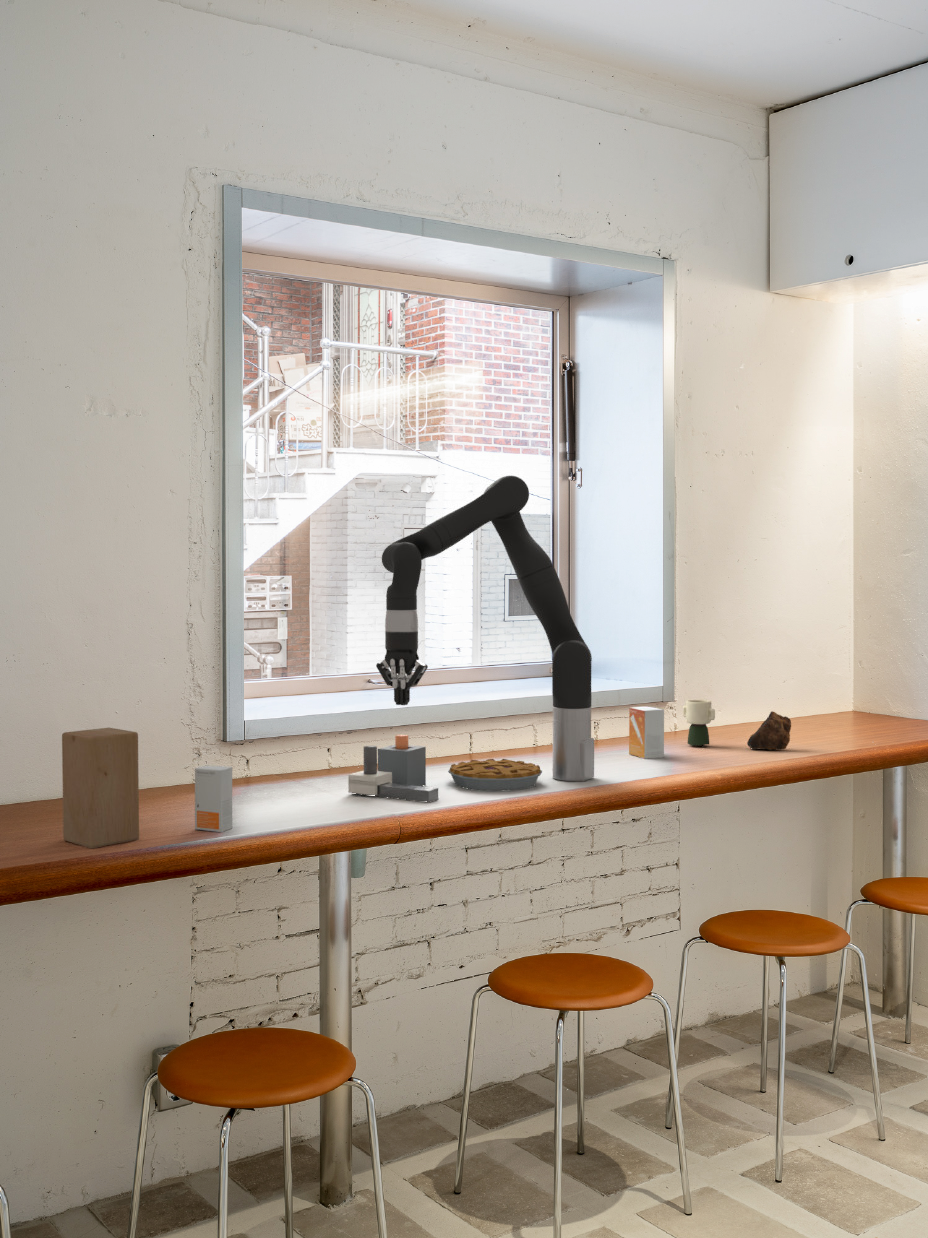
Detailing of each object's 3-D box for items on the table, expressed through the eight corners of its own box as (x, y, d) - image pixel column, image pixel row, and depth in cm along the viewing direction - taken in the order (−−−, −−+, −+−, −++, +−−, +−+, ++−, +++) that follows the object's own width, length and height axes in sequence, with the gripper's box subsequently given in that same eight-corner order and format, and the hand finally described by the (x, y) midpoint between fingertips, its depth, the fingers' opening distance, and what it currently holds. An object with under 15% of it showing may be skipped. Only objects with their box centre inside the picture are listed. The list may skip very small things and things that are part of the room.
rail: (438, 799, 246) (438, 788, 246) (428, 802, 243) (428, 791, 242) (362, 791, 256) (361, 780, 256) (351, 794, 252) (351, 782, 252)
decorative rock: (789, 748, 319) (790, 710, 318) (793, 752, 313) (793, 713, 312) (746, 748, 320) (746, 710, 320) (748, 751, 314) (749, 712, 314)
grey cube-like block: (425, 785, 263) (425, 746, 262) (407, 791, 256) (407, 751, 255) (396, 782, 267) (396, 744, 266) (377, 787, 260) (377, 748, 259)
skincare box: (194, 830, 216) (193, 768, 216) (206, 825, 220) (206, 764, 220) (221, 833, 214) (220, 770, 214) (233, 828, 218) (233, 766, 217)
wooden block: (90, 849, 201) (89, 737, 200) (62, 840, 208) (60, 732, 207) (140, 839, 208) (139, 731, 208) (111, 831, 215) (109, 727, 214)
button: (410, 754, 262) (410, 735, 261) (403, 756, 259) (403, 737, 259) (399, 753, 263) (399, 734, 263) (392, 755, 260) (392, 736, 260)
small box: (628, 754, 308) (628, 707, 308) (648, 753, 311) (648, 706, 310) (644, 759, 301) (644, 710, 300) (664, 757, 303) (664, 709, 303)
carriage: (392, 790, 254) (391, 745, 253) (374, 795, 247) (374, 750, 247) (366, 787, 257) (366, 743, 257) (348, 792, 251) (348, 747, 251)
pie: (434, 780, 271) (434, 759, 271) (516, 773, 280) (516, 753, 279) (470, 796, 251) (471, 773, 251) (558, 789, 259) (558, 767, 259)
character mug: (721, 747, 322) (722, 701, 321) (706, 749, 317) (707, 703, 317) (690, 743, 330) (691, 698, 329) (675, 745, 325) (675, 700, 325)
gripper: (435, 629, 260) (435, 704, 261) (386, 628, 266) (386, 701, 267) (418, 631, 253) (418, 708, 254) (368, 629, 260) (368, 704, 260)
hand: (401, 704), depth 260 cm, fingers closed
